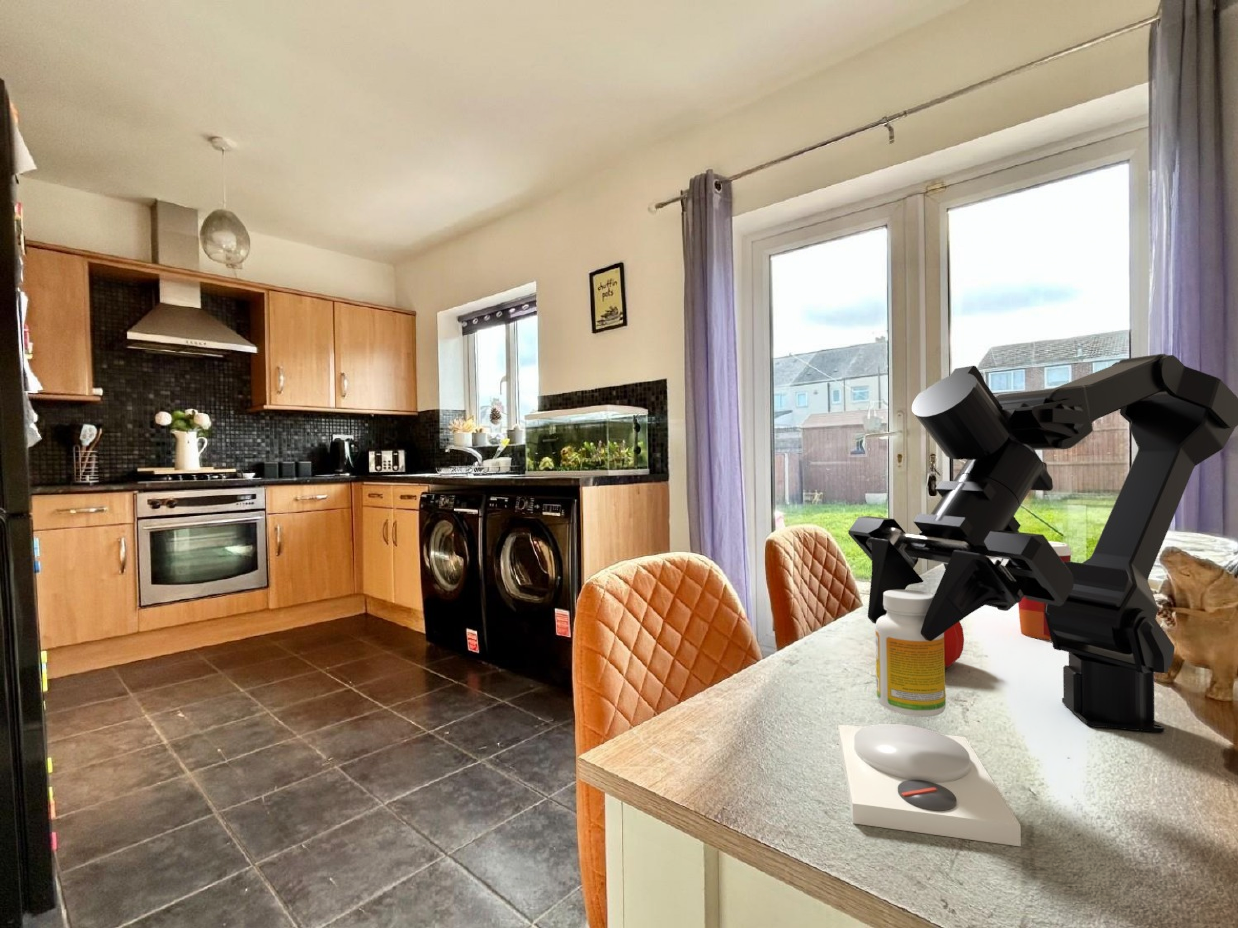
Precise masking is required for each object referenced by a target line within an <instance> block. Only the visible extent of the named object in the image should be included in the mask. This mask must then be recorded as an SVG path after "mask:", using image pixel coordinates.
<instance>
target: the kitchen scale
mask: <svg viewBox="0 0 1238 928" xmlns="http://www.w3.org/2000/svg"><path fill="white" fill-rule="evenodd" d="M837 725H838V726H837V729H838V731H837V733H838V734H837V735H838V746H839V751H840V757H841V762H842V768H843V774H844V779H845V785H846V791H847V792H846V793H847V798H848V802H849V807H850V813H851V820H852V821H851V822H852V824H856V825H863V826H869V827H871V826H872V827H877V828H882V829H883V828H885V829H891V830H897V831H898V830H900V831H905V832H913V833H921V834H926V835H934V836H935V835H936V836H943V837H947V838H948V837H949V838H957V839H963V840H972V841H976V842H977V841H978V842H983V843H984V842H987V843H991V844H1000V845H1007V846H1015V847H1021V845H1022V844H1021V843H1022V841H1021V840H1022V839H1021V836H1022V834H1021V833H1022V832H1021V824H1020V822H1019V821H1018V819H1017V818H1016V816H1015V814H1014V813H1013V811H1012V809H1011V808H1010V806H1009V805H1008V802H1007V801H1006V800H1005V798H1004V797H1003V795H1002V794H1001V792H1000V791H999V788H998V787H997V786H996V784H995V783H994V781H993V779H992V778H991V776H990V774H989V773H988V770H986V768H985V767H984V765H983V763H982V762H981V760H980V758H979V757H978V756H977V754H976V752H975V750H974V749H973V747H972V746H971V745H970V743H969V741H968V739H967V738H966V737H965V736H958V735H949V734H942V733H940V732H937V731H934V730H930V729H928V728H925V727H920V726H915V725H909V724H902V723H900V724H899V723H878V724H877V723H876V724H872V725H868V726H858V725H857V726H856V725H847V724H837Z"/></svg>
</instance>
